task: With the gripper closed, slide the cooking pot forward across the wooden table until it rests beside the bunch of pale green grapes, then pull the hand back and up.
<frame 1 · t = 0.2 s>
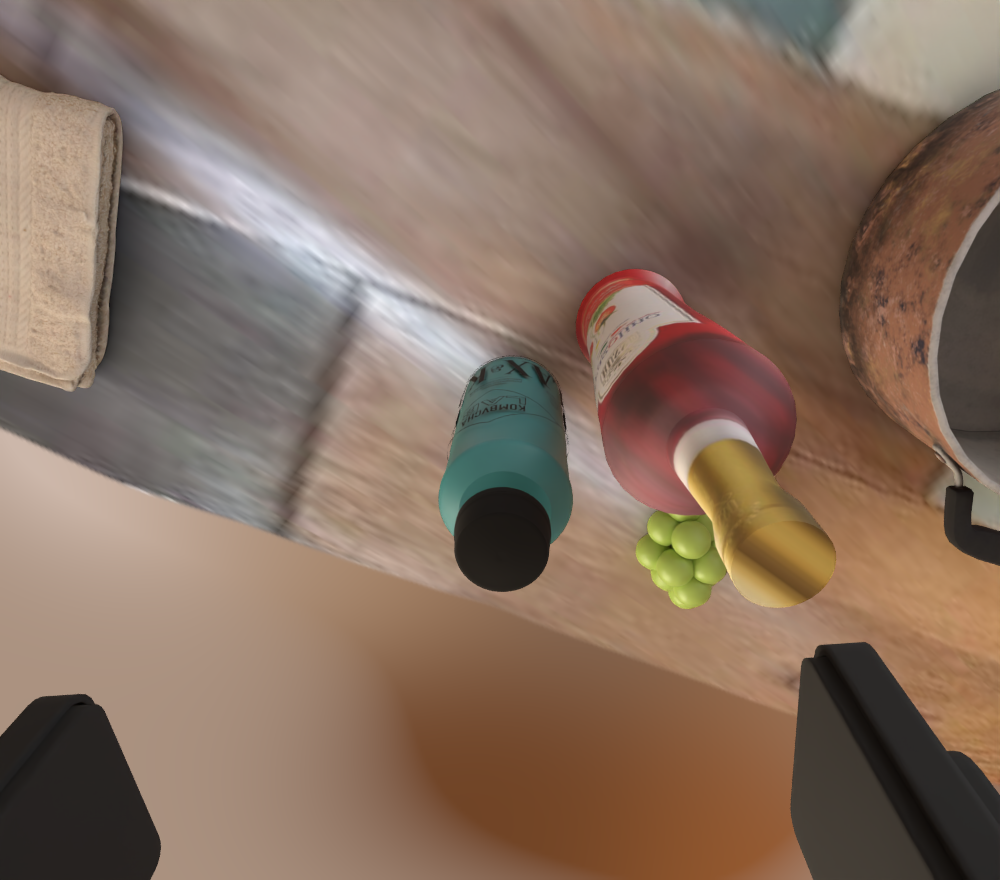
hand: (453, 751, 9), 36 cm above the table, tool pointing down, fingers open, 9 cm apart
liquor: (627, 319, 44), on the table
grapes: (681, 532, 49), on the table
beverage bottle: (511, 392, 46), on the table
washcloth: (26, 232, 43), on the table
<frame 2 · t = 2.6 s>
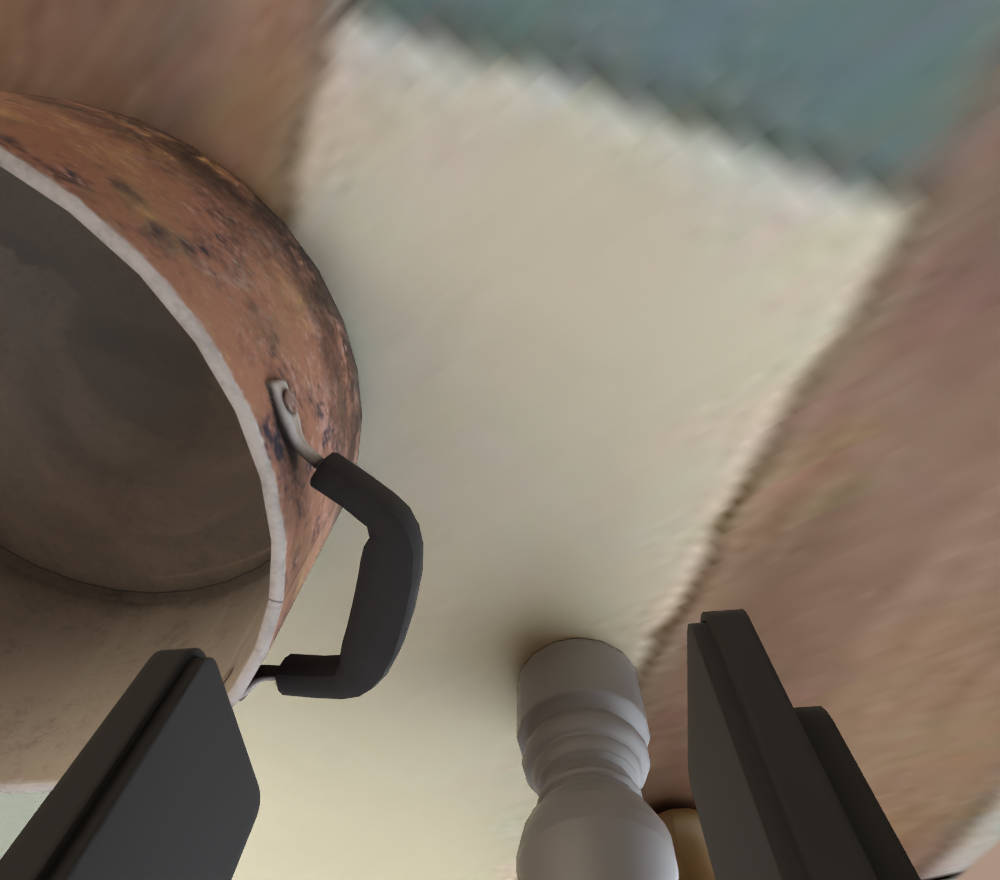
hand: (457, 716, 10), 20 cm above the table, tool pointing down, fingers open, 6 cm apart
kendama: (678, 828, 39), on the table
candle holder: (577, 684, 35), on the table
cooking pot: (108, 387, 29), on the table
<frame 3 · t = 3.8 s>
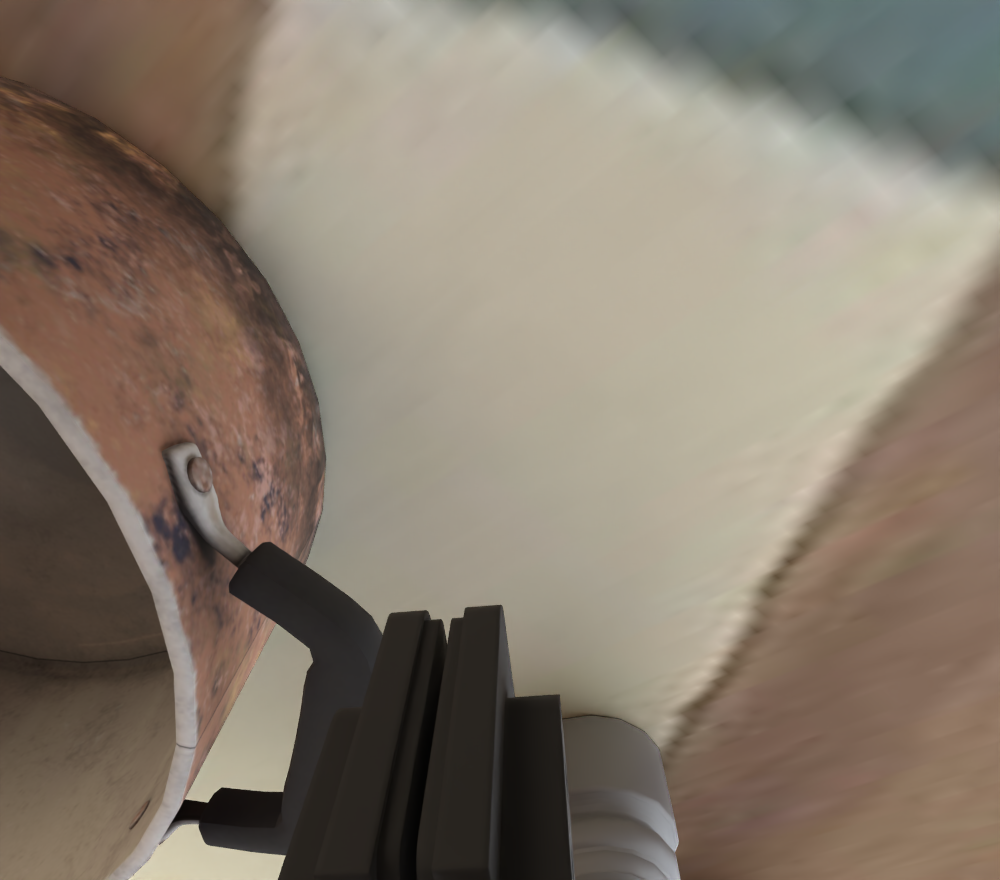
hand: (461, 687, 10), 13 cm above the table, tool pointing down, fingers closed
candle holder: (590, 765, 29), on the table
cooking pot: (14, 422, 24), on the table
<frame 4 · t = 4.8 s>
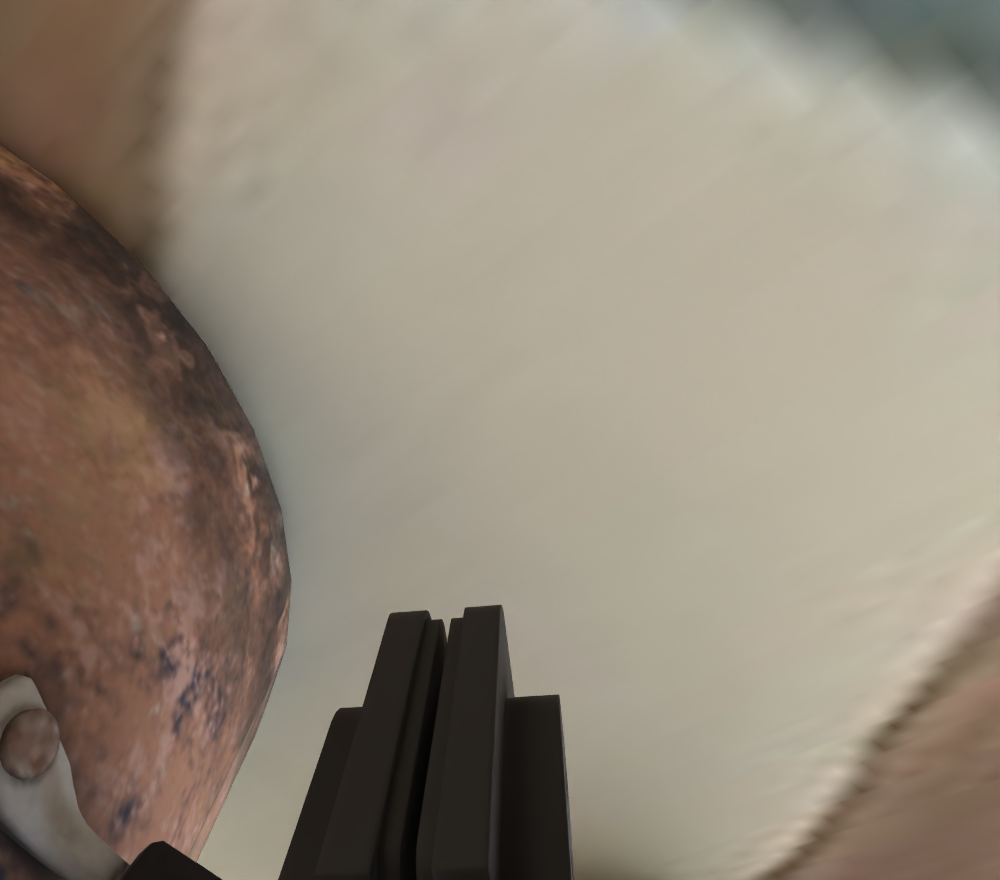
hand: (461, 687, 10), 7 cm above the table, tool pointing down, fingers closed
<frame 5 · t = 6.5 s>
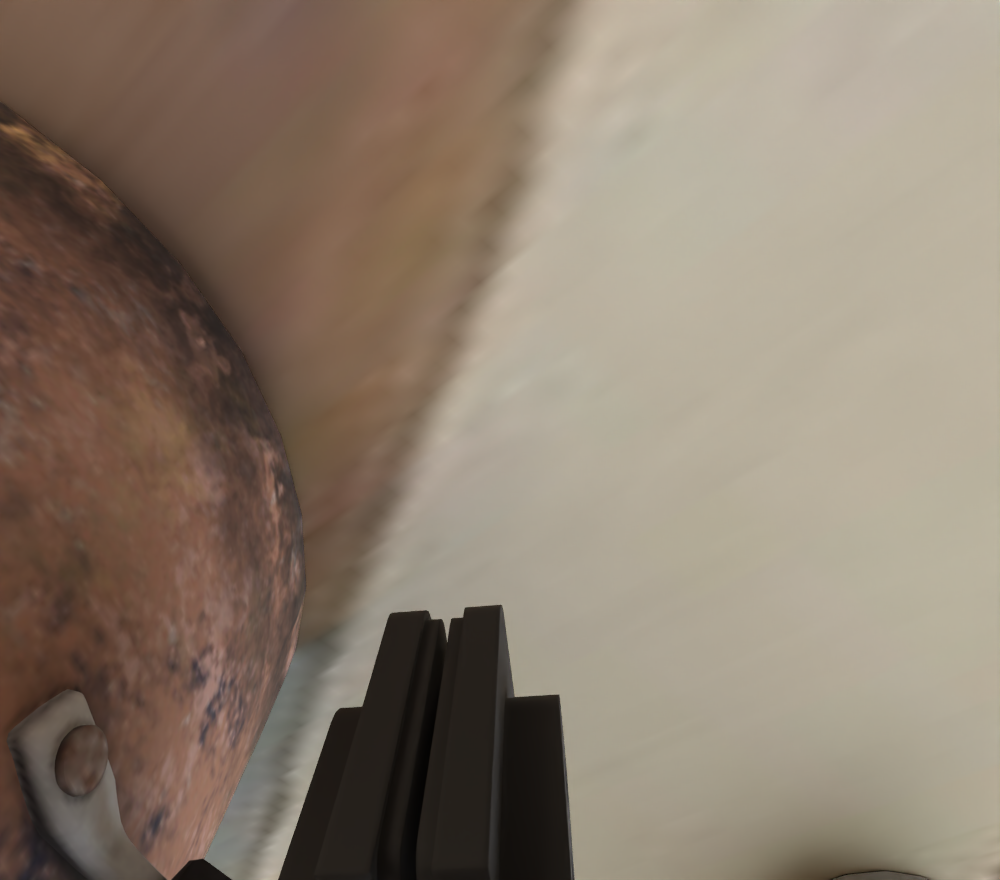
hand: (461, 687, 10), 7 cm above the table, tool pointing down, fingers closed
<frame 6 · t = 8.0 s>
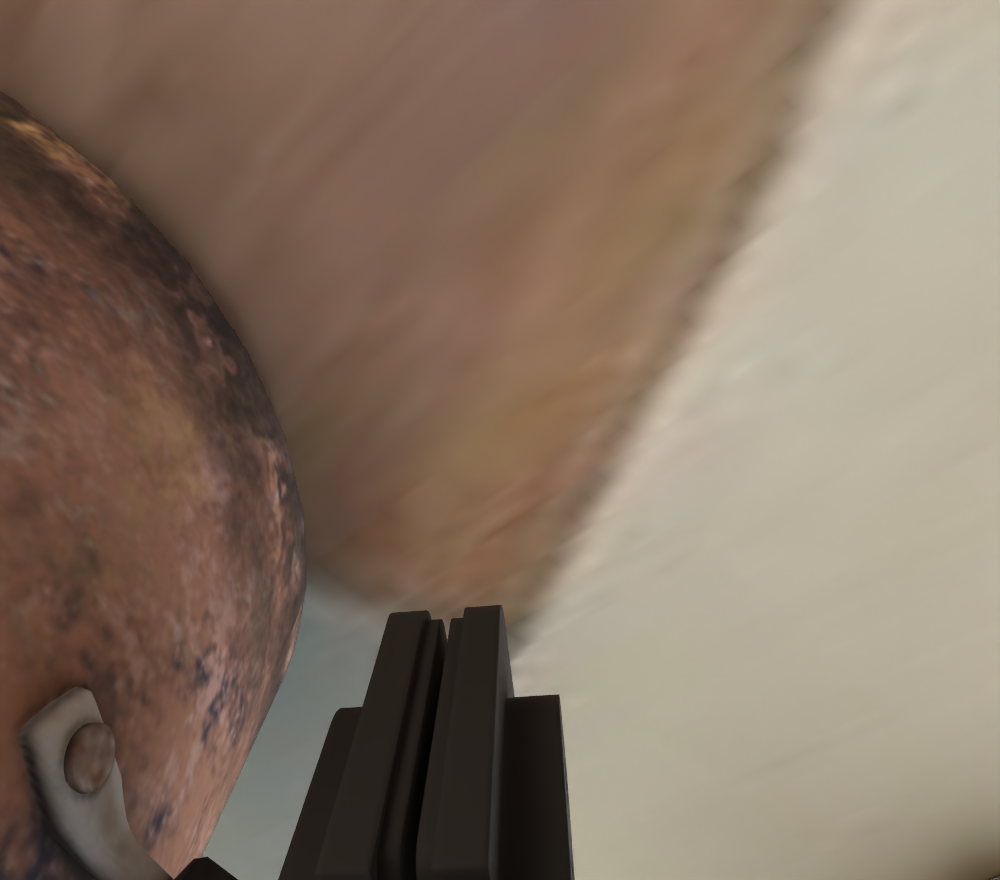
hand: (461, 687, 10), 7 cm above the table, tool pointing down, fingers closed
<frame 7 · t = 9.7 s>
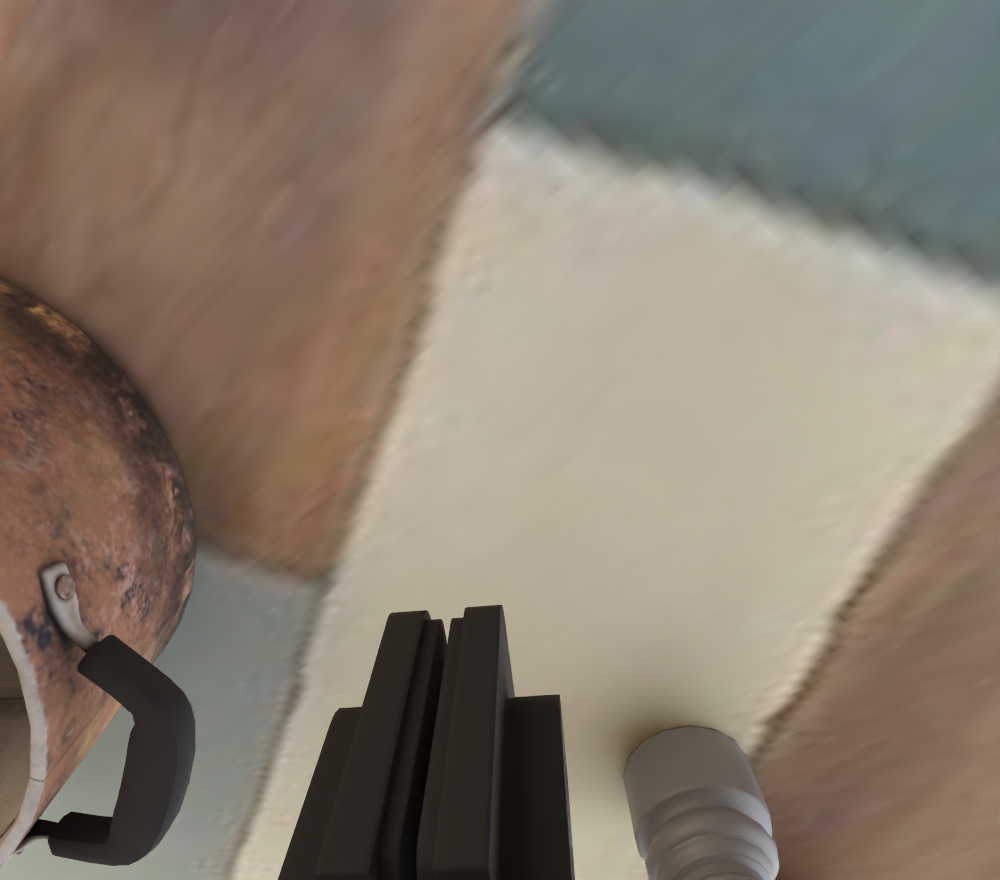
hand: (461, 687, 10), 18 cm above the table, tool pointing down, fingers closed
candle holder: (685, 771, 34), on the table
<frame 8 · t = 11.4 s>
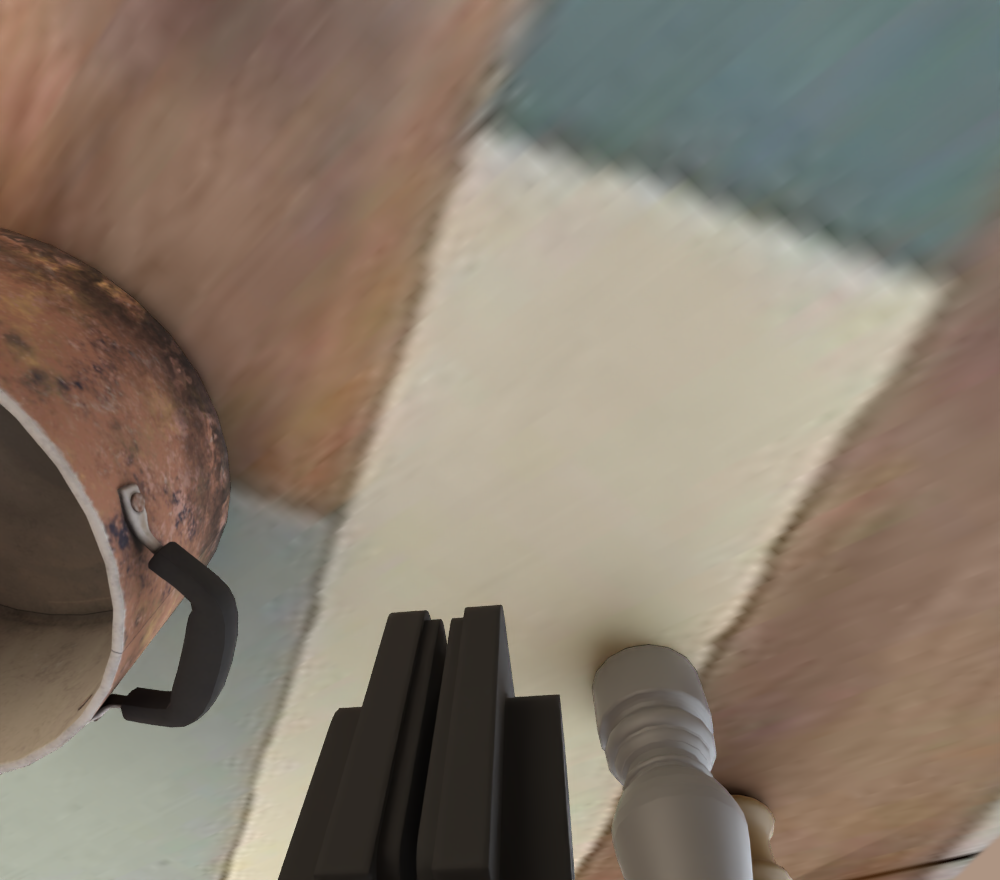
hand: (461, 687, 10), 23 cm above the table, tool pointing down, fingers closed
kendama: (728, 813, 44), on the table
candle holder: (644, 684, 40), on the table
cooking pot: (20, 445, 35), on the table
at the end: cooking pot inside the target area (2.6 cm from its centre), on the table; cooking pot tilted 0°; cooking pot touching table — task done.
